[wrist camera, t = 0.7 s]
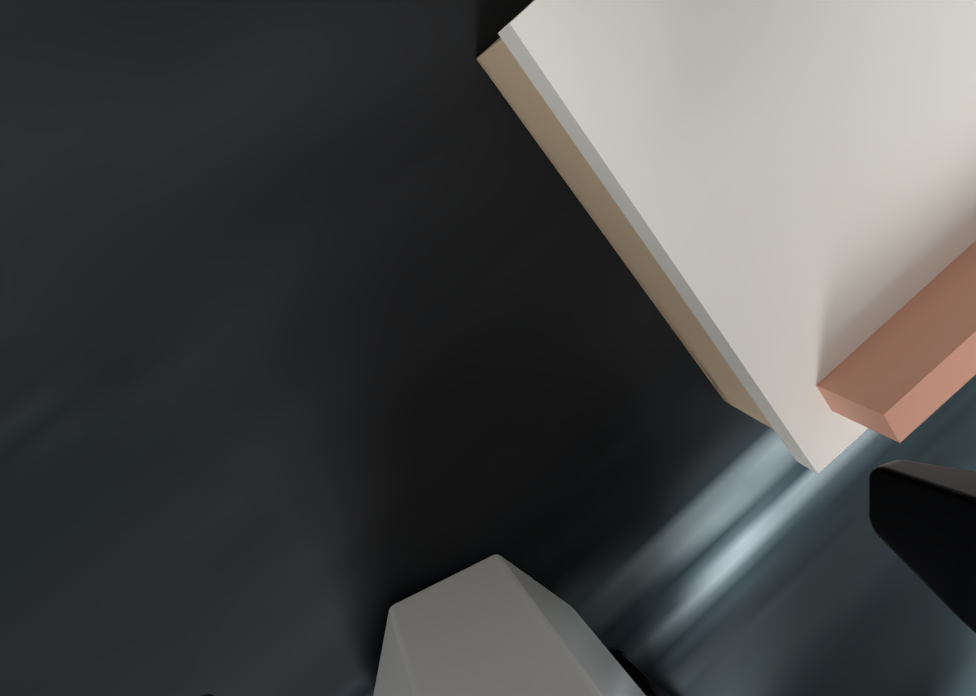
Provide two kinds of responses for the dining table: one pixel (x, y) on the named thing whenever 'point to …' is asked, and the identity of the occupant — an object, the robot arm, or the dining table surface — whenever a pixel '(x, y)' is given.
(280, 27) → the dining table surface
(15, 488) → the dining table surface
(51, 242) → the dining table surface
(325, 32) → the dining table surface
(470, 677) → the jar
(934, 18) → the lid
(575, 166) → the beige open tray
